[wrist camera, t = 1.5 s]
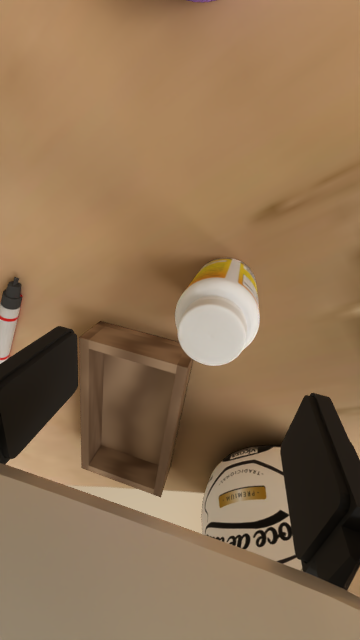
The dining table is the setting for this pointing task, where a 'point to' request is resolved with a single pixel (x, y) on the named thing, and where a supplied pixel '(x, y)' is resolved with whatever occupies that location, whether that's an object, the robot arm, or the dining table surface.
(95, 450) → the brown wooden tray
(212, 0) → the masking tape
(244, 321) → the supplement bottle
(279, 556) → the milk container
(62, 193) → the dining table surface
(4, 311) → the marker
